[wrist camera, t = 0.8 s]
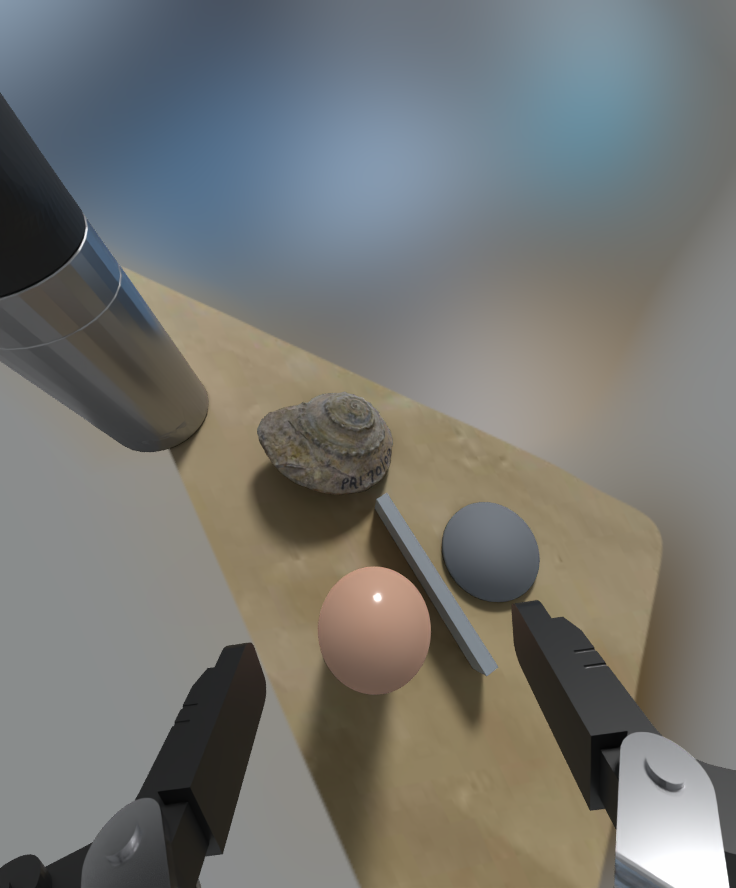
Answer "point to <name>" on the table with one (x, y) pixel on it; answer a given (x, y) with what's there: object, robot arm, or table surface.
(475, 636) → the gray rectangular bar
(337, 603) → the peach rounded cylinder
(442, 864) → the table surface
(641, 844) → the robot arm
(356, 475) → the fossilized seashell
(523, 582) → the slate coaster
